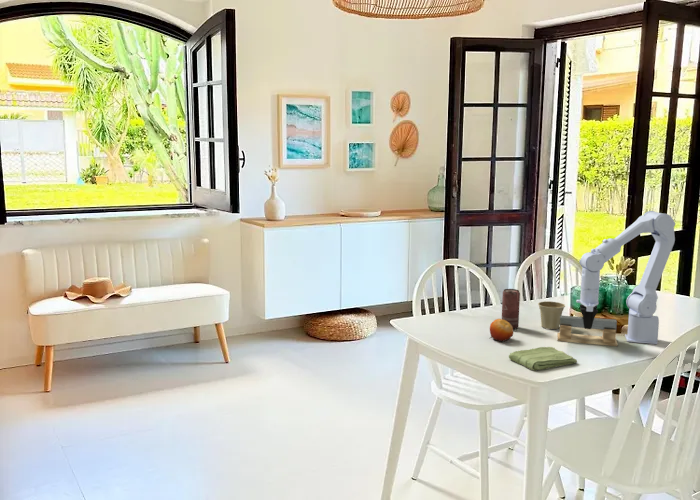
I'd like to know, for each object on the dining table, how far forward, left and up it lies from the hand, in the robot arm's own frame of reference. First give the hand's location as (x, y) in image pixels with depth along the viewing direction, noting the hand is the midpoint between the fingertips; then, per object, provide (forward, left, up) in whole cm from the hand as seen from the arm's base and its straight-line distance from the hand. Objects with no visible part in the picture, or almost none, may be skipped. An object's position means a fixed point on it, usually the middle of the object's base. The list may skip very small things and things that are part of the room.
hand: (587, 327), depth 222 cm
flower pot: (+12, -13, -5) cm, 18 cm away
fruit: (+28, +8, -5) cm, 30 cm away
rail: (0, 0, 0) cm, 0 cm away
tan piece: (0, 0, -5) cm, 5 cm away
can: (+26, -8, -5) cm, 28 cm away
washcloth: (+14, +27, -5) cm, 31 cm away
